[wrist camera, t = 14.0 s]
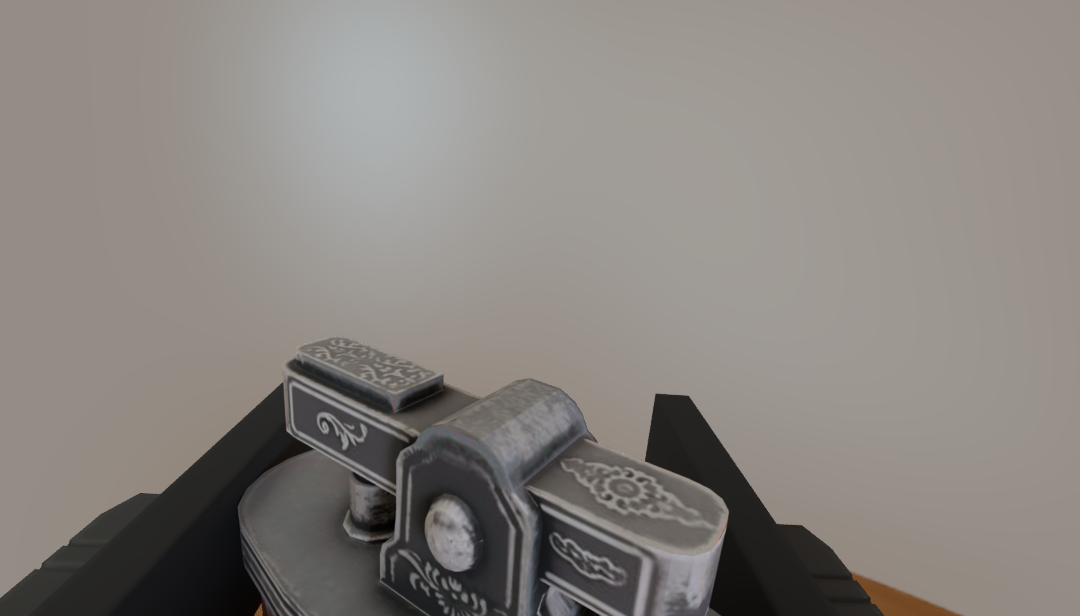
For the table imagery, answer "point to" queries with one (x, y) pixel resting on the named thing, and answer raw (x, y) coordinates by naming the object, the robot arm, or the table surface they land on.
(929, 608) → the table surface
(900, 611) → the table surface
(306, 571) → the lighter
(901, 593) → the table surface
